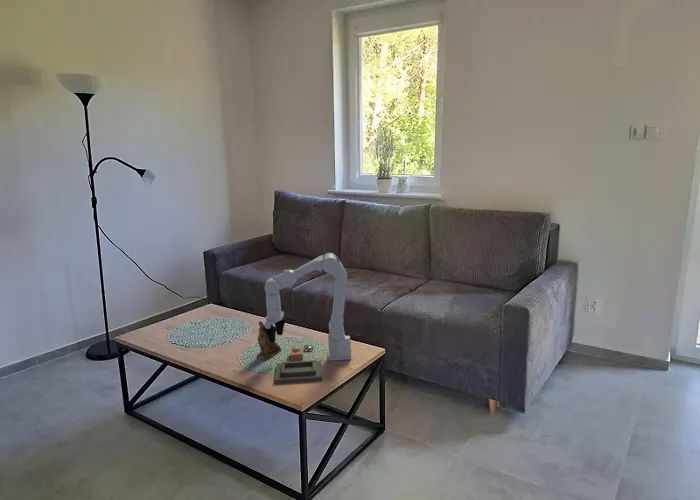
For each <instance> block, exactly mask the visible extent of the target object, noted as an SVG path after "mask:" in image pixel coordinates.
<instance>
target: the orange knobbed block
mask: <svg viewBox="0 0 700 500" xmlns="http://www.w3.org/2000/svg"><path fill="white" fill-rule="evenodd" d="M303 349H304V346H303V345H302V344H300V345H290V362H293V361H304V350H303Z"/></svg>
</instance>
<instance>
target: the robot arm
mask: <svg viewBox="0 0 700 500" xmlns="http://www.w3.org/2000/svg"><path fill="white" fill-rule="evenodd" d="M314 271H318V272H323V271H324V272H325V273H327V274H329V275H331V277H333V278H334V279H335V282H334V283H335V285H334V292H333V302H332V303H333V304H332V313H331V319H330V320H329V322H328V329H329V330H328V331H329V332H328V336H327V337H328V338H327V341H328V343H327V344H328V346H327V347H328V351H327V359H328V361H347V360H352V347H351V345H352V343H351V337H350V335H346V334H345V333H346V332H345V329H344V312H345V311H344V310H345V303H346V294H347V283H348V272H347V270H346V269H345V267H344V265H343V264H342V262H341V260H340V258H339V257H338V256H337V255H336V254H335V253H332V252H326V253H325V254H322V255H318V256H317V257H315V258H314V259H312V260H310V261H308V262H306V263H305V264H303V265H301V266H300V267H298V268H295V269H283V271H282V273H279V274H278V275H273V276H272V277H269V278H267V280H266V281H265V285H264V291H265V295H266V296H265V303H266V316H265V317H264V319H265V320H266V321H265V323H264V326H263V330H264V331H265V332H266V334H267V336H268V339H269V342H271V343H274V342H276V335H277V336H283V334H284V329H285V328H284V327H285V324H286V322H287V317H286V316H285V311H282V306H281V295H280V290H283V289H285V288H287V287H289V286H291V285H293V284H295V283H296V282H297V280H298V278H300V277H303V276H305V275H307V274H309V273H311V272H314Z"/></svg>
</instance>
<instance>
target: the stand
mask: <svg viewBox="0 0 700 500" xmlns="http://www.w3.org/2000/svg"><path fill="white" fill-rule="evenodd" d="M274 374H275V376H274V384H289V383H304V382H317V381H323V369H322V360H316V359H311V360H309V359H308V360H303V361H293V362H291V361H281V363H276V367H275V373H274Z"/></svg>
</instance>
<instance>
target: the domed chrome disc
mask: <svg viewBox="0 0 700 500" xmlns="http://www.w3.org/2000/svg"><path fill="white" fill-rule="evenodd" d="M303 349H304V350H303V351H305V350H307V351H306V352H311V351H310V350H312V351H314V345H313V344H306V345H304V346H303Z"/></svg>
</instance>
